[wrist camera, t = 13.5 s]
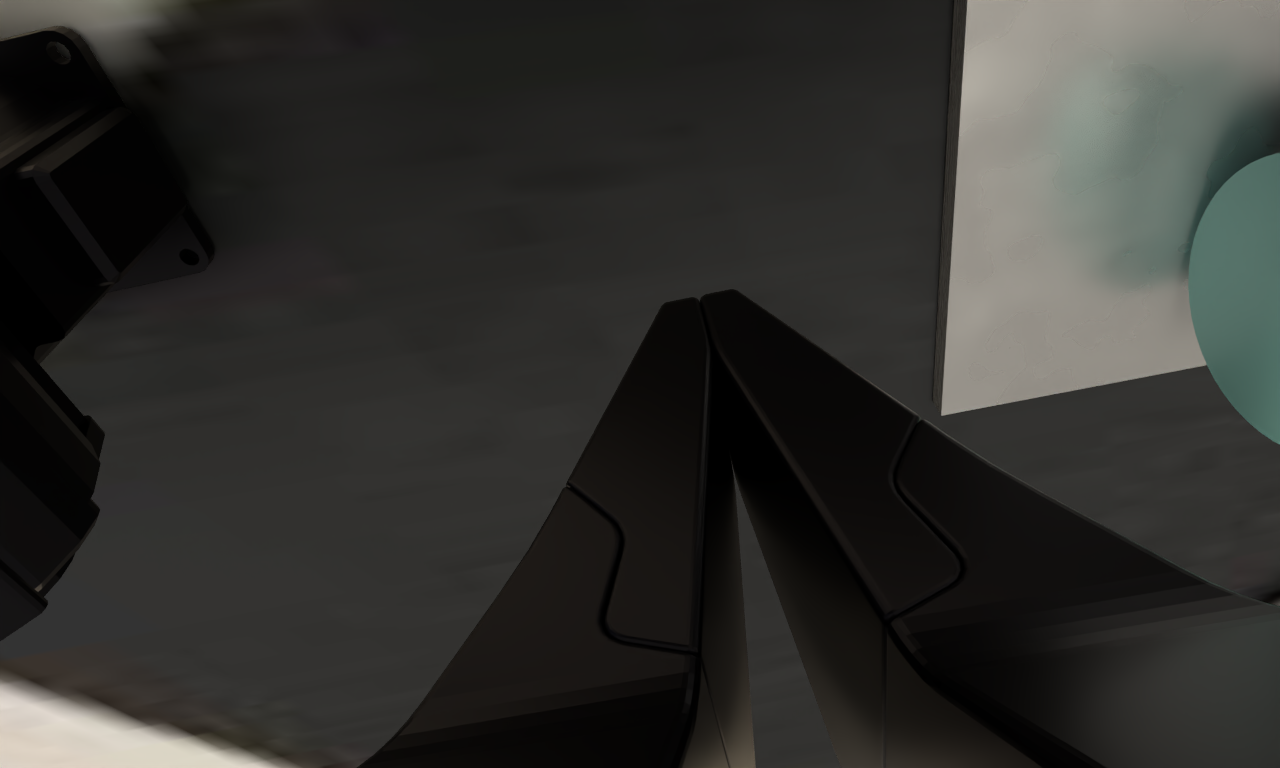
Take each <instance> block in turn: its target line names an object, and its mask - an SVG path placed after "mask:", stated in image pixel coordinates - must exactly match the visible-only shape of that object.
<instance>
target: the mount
mask: <svg viewBox="0 0 1280 768" xmlns="http://www.w3.org/2000/svg"><path fill="white" fill-rule="evenodd" d="M1277 153H1280V0H954V11H953V29H952V48H951V67H950V86H949V105H948V123H947V142H946V161H945V180H944V198H943V217H942V236H941V255H940V274H939V292H938V311H937V330H936V349H935V367H934V386H933V402H934V404H935V406H936V408H937V409H938V411H939V413H940V414H941V416H942V415H947V414H952V413H958V412H963V411H968V410H973V409H979V408H984V407H989V406H994V405H1000V404H1005V403H1010V402H1015V401H1021V400H1026V399H1031V398H1036V397H1042V396H1047V395H1052V394H1057V393H1063V392H1068V391H1073V390H1078V389H1084V388H1089V387H1094V386H1099V385H1105V384H1110V383H1115V382H1120V381H1126V380H1131V379H1136V378H1141V377H1147V376H1152V375H1157V374H1162V373H1168V372H1173V371H1178V370H1183V369H1189V368H1194V367H1199V366H1204V365H1207V364H1206V361H1205V359H1204V357H1203V354H1202V352H1201V349H1200V346H1199V343H1198V340H1197V337H1196V334H1195V330H1194V326H1193V322H1192V317H1191V310H1190V303H1189V289H1188V279H1189V264H1190V256H1191V250H1192V246H1193V241H1194V237H1195V234H1196V231H1197V228H1198V225H1199V223H1200V220H1201V218H1202V216H1203V214H1204V212H1205V210H1206V208H1207V206H1208V205H1209V203H1210V202H1211V200H1212V198H1213V197H1214V195H1215V194H1216V193H1217V192H1218V190H1219V189H1220V188H1221V187H1222V186H1223V184H1224V183H1225V182H1226V181H1227V180H1229V179H1230V178H1231V177H1232V176H1233V175H1234V174H1235V173H1236V172H1238V171H1239V170H1241V169H1242V168H1244V167H1245V166H1247V165H1248V164H1250V163H1252V162H1254V161H1257V160H1259V159H1261V158H1263V157H1266V156H1270V155H1273V154H1277Z"/></svg>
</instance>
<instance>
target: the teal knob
mask: <svg viewBox="0 0 1280 768" xmlns="http://www.w3.org/2000/svg"><path fill="white" fill-rule="evenodd" d="M1188 289H1189V303H1190V310H1191V317H1192V322H1193V326H1194V330H1195V334H1196V337H1197V340H1198V343H1199V346H1200V349H1201V352H1202V354H1203V357H1204V359H1205V361H1206V364H1207V366H1208V368H1209V370H1210V372H1211V374H1212V376H1213V377H1214V379H1215V381H1216V383H1217V384H1218V386H1219V387H1220V389H1221V390H1222V392H1223V393H1224V395H1225V396H1226V398H1227V399H1228V400H1229V401H1230V403H1231V404H1232V405H1233V406H1234V408H1235V409H1236V410H1237V411H1238V412H1239V413H1240V414H1241V415H1242V416H1243V417H1244V418H1245V419H1246V420H1247V421H1248V422H1249V423H1250V424H1251V425H1252V426H1253V427H1255V428H1256V429H1257V430H1258V431H1259V432H1261V433H1262V434H1264V435H1265V436H1267V437H1268V438H1269V439H1271V440H1272V441H1274V442H1276V443H1278V444H1279V445H1280V153H1277V154H1273V155H1270V156H1266V157H1263V158H1261V159H1259V160H1257V161H1254V162H1252V163H1250V164H1248V165H1247V166H1245V167H1244V168H1242V169H1241V170H1239V171H1238V172H1236V173H1235V174H1234V175H1233V176H1232V177H1231V178H1230V179H1229V180H1227V181H1226V182H1225V183H1224V184H1223V186H1222V187H1221V188H1220V189H1219V190H1218V192H1217V193H1216V194H1215V195H1214V197H1213V198H1212V200H1211V202H1210V203H1209V205H1208V206H1207V208H1206V210H1205V212H1204V214H1203V216H1202V218H1201V220H1200V223H1199V225H1198V228H1197V231H1196V234H1195V237H1194V241H1193V246H1192V250H1191V256H1190V264H1189V279H1188Z"/></svg>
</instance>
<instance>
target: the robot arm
mask: <svg viewBox="0 0 1280 768" xmlns="http://www.w3.org/2000/svg"><path fill="white" fill-rule="evenodd" d="M56 42H59V43H61V44H63V45H64V46H65V47H66V48H67V49H68V50H69V52H70V55H71V60H69V59H67V58H65V57H63V56H62V55H61V54H60V53H59V52H58V51H57V48H56V46H55V44H56ZM186 204H187V200H186V198H185V196H184V194H183V193H182V191H181V189H180V188H179V186H178V185H177V183H176V181H175V180H174V178H173V176H172V175H171V173H170V171H169V170H168V168H167V167H166V165H165V163H164V162H163V160H162V158H161V157H160V155H159V153H158V152H157V150H156V148H155V147H154V145H153V144H152V142H151V140H150V139H149V137H148V135H147V134H146V132H145V130H144V129H143V127H142V126H141V124H140V122H139V121H138V119H137V117H136V116H135V115H134V114H133V113H132V112H130V111H129V110H127V108H126V106H125V105H124V103H123V102H122V100H121V98H120V97H119V95H118V93H117V92H116V90H115V88H114V87H113V85H112V84H111V82H110V80H109V79H108V77H107V75H106V74H105V72H104V71H103V69H102V67H101V66H100V64H99V62H98V61H97V59H96V57H95V56H94V54H93V53H92V51H91V49H90V48H89V46H88V44H87V43H86V42H85V41H84V39H83V38H82V37H81V36H80V35H79V34H77V33H76V32H74V31H73V30H71V29H69V28H66V27H63V26H54V27H49V28H45V29H41V30H37V31H33V32H29V33H25V34H21V35H17V36H13V37H8V38H4V39H0V641H1V640H3V639H4V638H6V637H7V636H9V635H10V634H12V633H13V632H15V631H16V630H18V629H19V628H21V627H22V626H23V625H25V624H26V623H28V622H29V621H31V620H32V619H34V618H35V617H37V616H38V615H39V614H41V613H42V612H43V611H44V610H45V609H46V607H47V605H48V601H47V600H46V599H45V598H44V596H45V595H46V594H47V593H48V592H49V590H50V589H51V588H52V587H53V586H54V585H55V584H56V583H57V582H58V580H59V579H60V578H61V577H62V575H63V573H64V572H65V570H66V569H67V567H68V566H69V564H70V563H71V561H72V560H73V557H74V555H75V552H76V551H77V550H78V549H79V548H80V546H81V545H82V543H83V542H84V540H85V539H86V537H87V536H88V534H89V533H90V531H91V530H92V528H93V527H94V525H95V523H96V520H97V517H98V515H99V511H100V509H99V507H98V506H97V505H96V504H95V503H94V501H93V500H92V499H91V497H92V495H93V493H94V489H95V485H96V480H97V476H98V472H99V467H100V461H99V457H100V453H101V449H102V444H103V440H104V436H105V433H104V431H103V430H102V429H101V428H100V427H99V426H98V424H97V423H96V422H95V421H94V420H93V419H92V417H91V416H83V415H82V413H81V412H80V411H79V410H78V409H77V408H76V407H75V405H74V404H73V403H72V402H71V401H70V400H69V398H68V397H67V396H66V395H65V394H64V393H63V391H62V390H61V389H60V388H59V387H58V386H57V385H56V383H55V382H54V381H53V380H52V379H51V378H50V376H49V375H48V374H47V373H46V372H45V371H44V370H43V368H42V367H41V366H40V365H39V364H40V363H41V362H42V361H43V360H44V359H45V358H46V357H47V356H48V354H49V353H50V352H51V351H52V350H53V349H54V348H55V347H56V346H57V345H58V344H59V343H60V342H61V341H62V340H63V339H64V338H65V337H66V336H67V335H68V334H69V332H70V331H71V330H72V329H73V328H74V327H75V326H76V325H77V324H78V323H79V322H80V321H81V320H82V319H83V318H84V316H85V315H86V314H87V313H88V312H89V311H90V310H91V309H92V308H93V307H94V306H95V305H96V304H97V303H98V302H99V300H100V299H101V298H102V297H103V296H104V295H105V294H106V293H108V292H112V291H117V290H122V289H126V288H131V287H135V286H140V285H145V284H149V283H154V282H158V281H163V280H168V279H172V278H177V277H181V276H186V275H191V274H195V273H200V272H202V271H204V270H205V269H206V268H207V267H208V265H209V264H210V263H211V261H212V260H213V259H214V252H213V249H212V247H211V245H210V243H209V242H208V240H207V238H206V237H205V235H204V234H203V232H202V230H201V229H200V227H199V225H198V224H197V222H196V220H195V219H194V217H193V216H192V214H191V212H190V211H189V209H188V207H187V206H186ZM185 249H190V250H192V251H194V252H195V253H196V254H197V255H198V257H199V258H193V257H191V256H189V255H188V254H187V253H186V250H185ZM730 457H731V458H730ZM731 461H732V464H731ZM732 465H733V469H734V473H735V477H736V480H737V483H738V486H739V490H740V493H741V496H742V498H743V501H744V504H745V507H746V509H747V512H748V515H749V518H750V520H751V523H752V526H753V528H754V531H755V534H756V537H757V539H758V542H759V545H760V548H761V550H762V553H763V556H764V559H765V561H766V564H767V567H768V570H769V572H770V575H771V578H772V580H773V583H774V586H775V589H776V591H777V594H778V597H779V600H780V602H781V605H782V608H783V611H784V613H785V616H786V619H787V621H788V624H789V627H790V630H791V632H792V635H793V638H794V641H795V643H796V646H797V649H798V652H799V654H800V657H801V660H802V663H803V665H804V668H805V671H806V673H807V676H808V679H809V682H810V684H811V687H812V690H813V693H814V695H815V698H816V701H817V704H818V706H819V709H820V712H821V715H822V717H823V720H824V723H825V725H826V728H827V731H828V734H829V736H830V739H831V742H832V745H833V747H834V750H835V753H836V756H837V758H838V761H839V764H840V766H841V768H1280V606H1277V605H1272V604H1268V603H1265V602H1262V601H1259V600H1256V599H1253V598H1250V597H1247V596H1243V595H1241V594H1238V593H1236V592H1233V591H1231V590H1228V589H1226V588H1223V587H1221V586H1219V585H1216V584H1214V583H1211V582H1209V581H1207V580H1205V579H1203V578H1201V577H1199V576H1197V575H1195V574H1193V573H1191V572H1189V571H1187V570H1185V569H1183V568H1182V567H1180V566H1178V565H1176V564H1174V563H1172V562H1170V561H1169V560H1167V559H1165V558H1163V557H1161V556H1159V555H1157V554H1156V553H1154V552H1152V551H1150V550H1148V549H1146V548H1144V547H1143V546H1141V545H1139V544H1137V543H1135V542H1133V541H1131V540H1130V539H1128V538H1126V537H1124V536H1122V535H1120V534H1119V533H1117V532H1115V531H1113V530H1111V529H1109V528H1107V527H1106V526H1104V525H1102V524H1100V523H1098V522H1096V521H1094V520H1093V519H1091V518H1089V517H1087V516H1085V515H1083V514H1081V513H1080V512H1078V511H1076V510H1074V509H1072V508H1070V507H1069V506H1067V505H1065V504H1063V503H1061V502H1059V501H1057V500H1056V499H1054V498H1052V497H1050V496H1048V495H1046V494H1045V493H1043V492H1041V491H1039V490H1038V489H1036V488H1034V487H1032V486H1031V485H1029V484H1027V483H1025V482H1024V481H1022V480H1020V479H1018V478H1017V477H1015V476H1013V475H1011V474H1010V473H1008V472H1006V471H1004V470H1003V469H1001V468H999V467H997V466H995V465H994V464H992V463H991V462H989V461H988V460H986V459H984V458H983V457H981V456H980V455H978V454H977V453H975V452H974V451H972V450H970V449H969V448H967V447H966V446H964V445H963V444H961V443H960V442H958V441H956V440H955V439H953V438H952V437H950V436H949V435H947V434H946V433H944V432H943V431H942V430H940V429H939V428H937V427H936V426H934V425H933V424H931V423H930V422H928V421H927V420H921V418H920V416H919V415H918V414H916V413H915V412H913V411H912V410H910V409H909V408H907V407H906V406H905V405H903V404H902V403H900V402H899V401H897V400H896V399H894V398H893V397H891V396H890V395H889V394H887V393H886V392H884V391H883V390H881V389H880V388H878V387H877V386H875V385H874V384H873V383H871V382H870V381H868V380H867V379H865V378H864V377H862V376H861V375H859V374H858V373H857V372H855V371H854V370H852V369H851V368H849V367H848V366H846V365H845V364H843V363H842V362H840V361H839V360H838V359H836V358H835V357H833V356H832V355H830V354H829V353H827V352H826V351H824V350H823V349H822V348H820V347H819V346H817V345H816V344H814V343H813V342H811V341H810V340H808V339H807V338H806V337H804V336H803V335H801V334H800V333H798V332H797V331H795V330H794V329H792V328H791V327H790V326H788V325H787V324H785V323H784V322H782V321H781V320H779V319H778V318H776V317H775V316H773V315H772V314H771V313H769V312H768V311H766V310H765V309H763V308H762V307H760V306H759V305H757V304H756V303H755V302H753V301H752V300H750V299H749V298H747V297H746V296H744V295H743V294H741V293H740V292H739V291H737V290H734V289H730V290H725V291H720V292H715V293H710V294H705V295H703V296H702V297H701V299H700V302H699V300H698V299H697V298H694V297H691V298H686V299H681V300H676V301H671V302H666V303H664V304H663V305H662V306H661V308H660V310H659V312H658V314H657V315H656V317H655V319H654V321H653V323H652V325H651V327H650V328H649V330H648V332H647V334H646V336H645V338H644V340H643V342H642V343H641V345H640V347H639V349H638V351H637V353H636V355H635V356H634V358H633V360H632V362H631V364H630V366H629V368H628V369H627V371H626V373H625V375H624V377H623V379H622V381H621V382H620V384H619V386H618V388H617V390H616V392H615V394H614V396H613V397H612V399H611V401H610V403H609V405H608V407H607V409H606V410H605V412H604V414H603V416H602V418H601V420H600V422H599V423H598V425H597V427H596V429H595V431H594V433H593V435H592V436H591V438H590V440H589V442H588V444H587V446H586V448H585V450H584V451H583V453H582V455H581V457H580V459H579V461H578V463H577V464H576V466H575V468H574V470H573V472H572V474H571V476H570V477H569V479H568V481H567V483H566V486H567V487H565V488H563V490H562V491H561V493H560V495H559V497H558V499H557V501H556V503H555V505H554V507H553V508H552V510H551V512H550V514H549V516H548V517H547V519H546V521H545V522H544V524H543V526H542V528H541V529H540V531H539V533H538V534H537V536H536V538H535V540H534V541H533V543H532V545H531V546H530V548H529V550H528V551H527V553H526V554H525V556H524V557H523V559H522V560H521V562H520V563H519V565H518V566H517V568H516V569H515V571H514V572H513V574H512V575H511V577H510V578H509V580H508V581H507V583H506V584H505V586H504V587H503V589H502V590H501V592H500V593H499V595H498V596H497V597H496V599H495V600H494V602H493V603H492V604H491V606H490V607H489V609H488V610H487V611H486V613H485V614H484V616H483V617H482V618H481V620H480V621H479V623H478V624H477V625H476V627H475V628H474V630H473V631H472V632H471V634H470V635H469V637H468V638H467V640H466V641H465V642H464V644H463V645H462V647H461V648H460V649H459V651H458V652H457V654H456V655H455V656H454V658H453V659H452V661H451V662H450V663H449V665H448V666H447V668H446V669H445V670H444V672H443V673H442V675H441V676H440V677H439V679H438V680H437V682H436V683H435V684H434V686H433V687H432V689H431V690H430V691H429V693H428V694H427V696H426V697H425V698H424V700H423V701H422V702H421V704H420V705H419V706H418V708H417V709H416V710H415V712H414V713H413V714H412V715H411V717H410V718H409V719H408V720H407V722H406V723H405V724H404V725H403V726H402V727H401V728H400V729H399V731H398V732H397V733H396V734H395V735H394V736H393V737H392V738H391V739H390V740H389V741H388V742H387V743H386V744H385V745H384V746H383V747H382V748H381V749H380V750H378V751H377V752H376V753H375V754H374V755H373V756H372V757H370V758H369V759H368V760H366V761H365V762H364V763H362V764H361V765H360V766H358V767H357V768H756V767H755V753H754V740H753V726H752V712H751V698H750V684H749V670H748V656H747V643H746V629H745V615H744V601H743V587H742V573H741V559H740V545H739V532H738V518H737V504H736V492H735V483H734V475H733V470H732Z"/></svg>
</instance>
